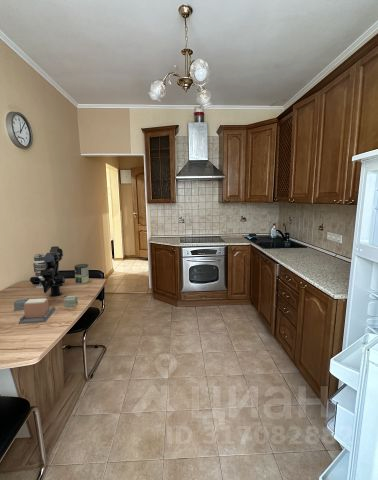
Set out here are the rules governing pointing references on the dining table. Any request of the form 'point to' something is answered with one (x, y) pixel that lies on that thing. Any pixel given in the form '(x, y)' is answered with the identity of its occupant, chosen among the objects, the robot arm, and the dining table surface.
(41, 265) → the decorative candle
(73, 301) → the sage block
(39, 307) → the terracotta key block
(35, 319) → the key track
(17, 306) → the slate block
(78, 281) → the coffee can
